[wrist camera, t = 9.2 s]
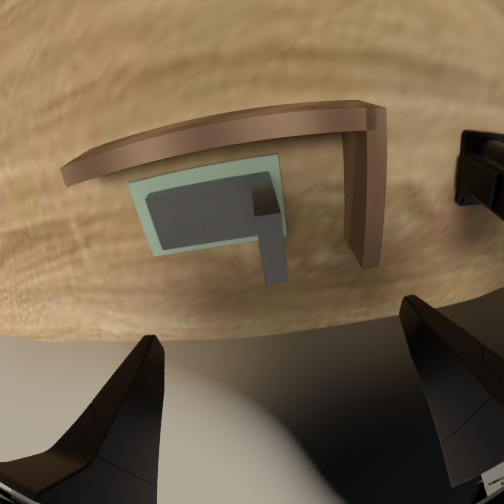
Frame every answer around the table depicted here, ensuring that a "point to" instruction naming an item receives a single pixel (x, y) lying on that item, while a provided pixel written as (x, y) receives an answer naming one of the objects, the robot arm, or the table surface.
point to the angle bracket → (223, 217)
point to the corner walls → (268, 127)
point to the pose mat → (198, 175)
